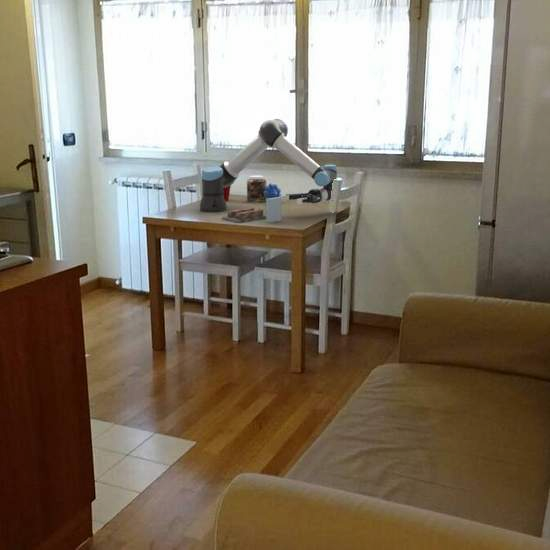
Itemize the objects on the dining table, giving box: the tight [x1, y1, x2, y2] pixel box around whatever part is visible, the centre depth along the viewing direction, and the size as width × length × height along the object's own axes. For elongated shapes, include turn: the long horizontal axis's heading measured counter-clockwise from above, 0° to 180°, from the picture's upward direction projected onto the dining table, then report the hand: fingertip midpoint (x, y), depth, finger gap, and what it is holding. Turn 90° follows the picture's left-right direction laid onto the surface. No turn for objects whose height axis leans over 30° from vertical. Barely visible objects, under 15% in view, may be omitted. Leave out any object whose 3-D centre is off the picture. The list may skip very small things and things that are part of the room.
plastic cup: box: [223, 185, 232, 202], centre depth 431 cm, size 11×11×12 cm
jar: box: [246, 174, 267, 203], centre depth 427 cm, size 12×12×15 cm
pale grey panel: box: [265, 197, 282, 224], centre depth 365 cm, size 8×2×12 cm, turn 132°
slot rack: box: [221, 207, 266, 224], centre depth 374 cm, size 20×14×4 cm
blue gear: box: [264, 182, 282, 199], centre depth 419 cm, size 12×7×12 cm, turn 120°
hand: (288, 200), depth 370 cm, fingers open, 13 cm apart
